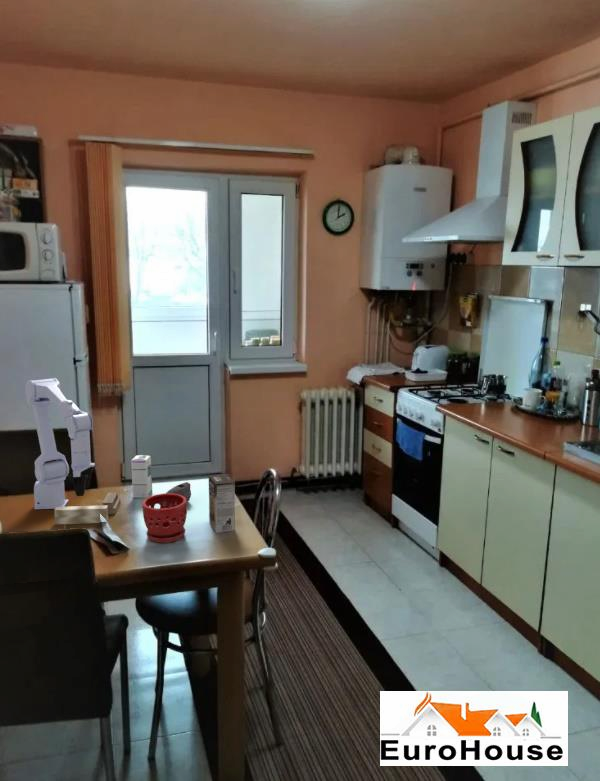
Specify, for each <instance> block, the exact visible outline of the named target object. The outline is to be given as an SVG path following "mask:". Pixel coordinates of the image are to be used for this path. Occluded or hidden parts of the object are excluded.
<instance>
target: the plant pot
mask: <svg viewBox="0 0 600 781" xmlns="http://www.w3.org/2000/svg"><path fill="white" fill-rule="evenodd" d="M164 501H165V502H167V504H166V505H163V504H162V503H163V502H164ZM175 502H177V504H175ZM187 503H188V502H186V498H185V497H184V496H182V495H179V494H172V493H167V492H165V493H159V494H154V495H150V496H149V497H148V498H144V500H143V501H142V504H141V505H142V506H141V507H142V515H143V521H144V525H145V527H146V529H147V531H146V536H147V538H148V539H149V540H150V541H152V542H156V543H160V544H161V543H162V544H163V543H165V544H166V543H173V542H176V541H178V540H180V539H181V538H183V537H184V535H185V534H186V528H185V527H184V526H185V524H186V519H187V515H188V514H187V513H188V504H187ZM169 504H172V506H170V505H169ZM156 505H159V506H160V507H159V508H155V506H156Z"/></svg>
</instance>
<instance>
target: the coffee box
mask: <svg viewBox="0 0 600 781" xmlns="http://www.w3.org/2000/svg"><path fill="white" fill-rule="evenodd" d="M235 484H236V483H235V481H234V479H232V478H231V476H230V475H228V473H226V474H213V475H211V474H210V475H208V503H209V504H208V507H209V508H208V509H209V510H208V512H209V514H208V515H209V516H208V517H209V524H210V526H211V528H212V529H213V531H214V532H215V533H216V534H217V533H218V534H219V533H220V534H221V533H227V532H234V531H235V525H236V524H235V519H236V518H235V517H236V516H235V514H236V512H235V511H236V504H235V503H236V502H235V499H236V498H235V497H236V496H235V495H236V492H235V490H236V488H235V486H236V485H235Z"/></svg>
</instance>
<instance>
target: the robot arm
mask: <svg viewBox="0 0 600 781" xmlns="http://www.w3.org/2000/svg"><path fill="white" fill-rule="evenodd" d="M24 393H25V398H26V402H27V405H28V406H30V407H32V413H33V416H34V422H35V427H36V432H37V437H38V443H39V446H40V453H41V454H40V455H39V456H38V457H37V458H36V459H35V460H34V475H35V478H36V481H35V483H34V485H33V495H34V496H33V497H34V498H33V499H34V510H50V509H51V510H55V509H56V507H66V505H67V503H68V502H69V499H67V498H66V496H65V480H67V479H66V478H67V477H68V480H69V481H70V482H71V484H72V486H73V489H74V492H75V495H76V497H84V495H85V491H86V490H85V489H89V487H90V484H91V478H92V473H93V470H94V468H95V466H96V465H95V464H96V463H95V462H92V461H91V460H92V459H91V438H90V435H91V434H90V431H91V430H92V429H93V425H94V420H93V418H92V416H91V414H90V412H88V411H86V412H85V411H82V410H81V409H80V408H79V406H77V404H76V403H75V402H74V401H73V400H70V399H67V398H66V397H65V395H64V394H63V393H62V390H61V383H60V381H59V380H58V379H57V378H56V377H52V378H44V379H35V380H32V379H30V380H28V381H26V383H25V387H24ZM52 403H53V404H54V406H56V407H57V408H56V409H57V410H56V411H57V413H58V414H59V415H60V417H61V418H62V419H63V420H64V421H65V422H66V423H65V425H66V429H67V432H68V437H69V438H70V451H71V454H70V455H71V464H70V466H71V469H72V473H70V466H69V464H68V462H67V459H66V455H64V454H62V453H61V452H59V451H58V450H57V444H56V439H55V433H54V428H53V424H52V419H51V415H50V410H49V407H50V404H52ZM54 460H55V461H54ZM69 473H70V474H69Z"/></svg>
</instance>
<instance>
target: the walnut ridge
mask: <svg viewBox="0 0 600 781" xmlns="http://www.w3.org/2000/svg"><path fill="white" fill-rule="evenodd" d="M118 496H119V494H118V492H108V493H107V494H106V496H105V498H104V500H103V502H102V503H101V505H108V515H116V514H117V511H118V509H119V508H120V506H121V502H122V501H121V497H118Z"/></svg>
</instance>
